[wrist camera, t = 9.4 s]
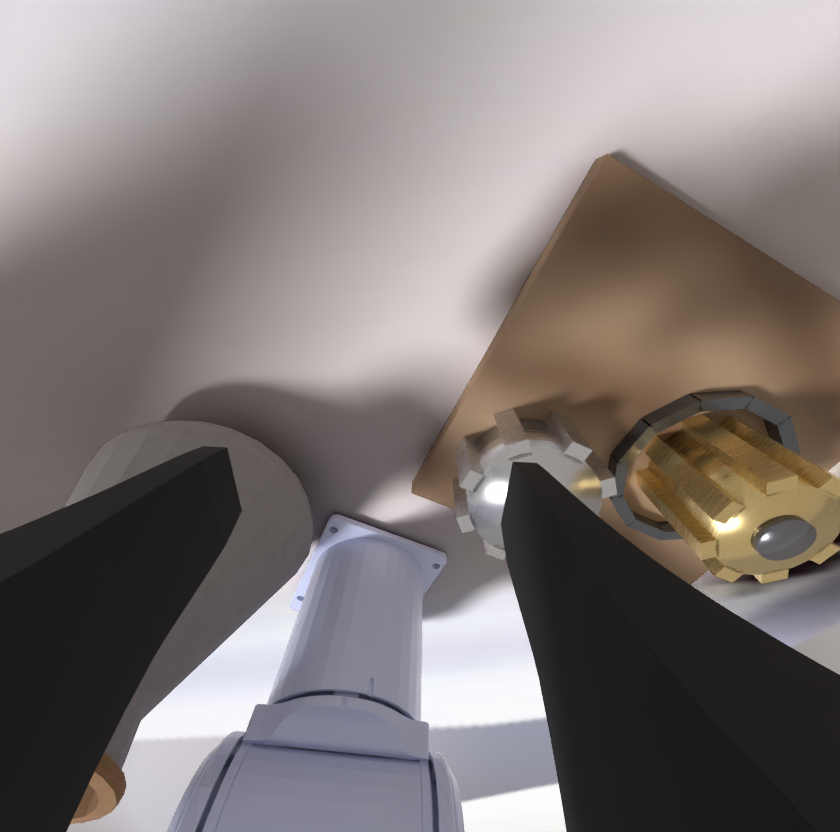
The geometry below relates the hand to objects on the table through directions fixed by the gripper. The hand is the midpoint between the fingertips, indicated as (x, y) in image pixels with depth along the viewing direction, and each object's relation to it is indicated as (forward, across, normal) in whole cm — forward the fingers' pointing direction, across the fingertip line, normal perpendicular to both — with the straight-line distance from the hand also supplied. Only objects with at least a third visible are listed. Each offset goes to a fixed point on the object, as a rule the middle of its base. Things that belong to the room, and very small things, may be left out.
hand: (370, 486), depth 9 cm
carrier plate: (+9, -13, +3) cm, 16 cm away
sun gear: (+8, -7, +5) cm, 12 cm away
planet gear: (+8, -16, +4) cm, 18 cm away
